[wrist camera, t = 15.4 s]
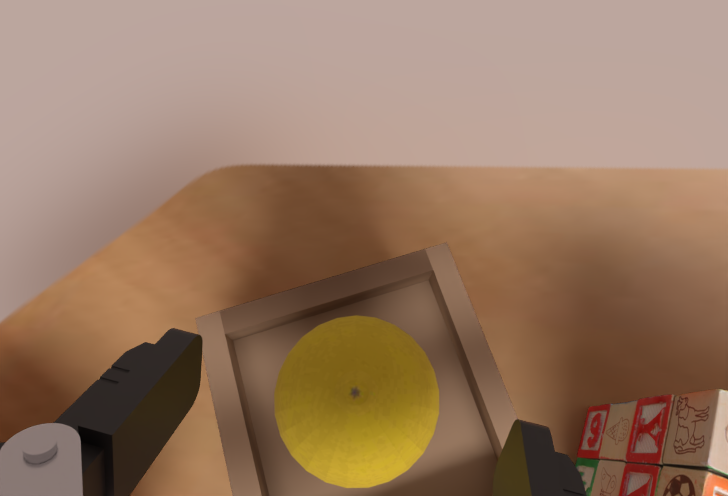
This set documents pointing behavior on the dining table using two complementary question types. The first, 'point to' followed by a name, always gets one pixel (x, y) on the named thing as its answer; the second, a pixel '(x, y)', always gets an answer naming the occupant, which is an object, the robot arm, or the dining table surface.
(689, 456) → the stack of blocks
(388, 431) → the lemon
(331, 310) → the wooden box
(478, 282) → the dining table surface
